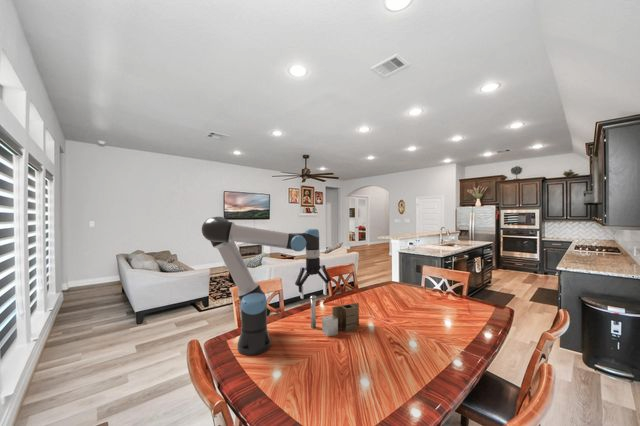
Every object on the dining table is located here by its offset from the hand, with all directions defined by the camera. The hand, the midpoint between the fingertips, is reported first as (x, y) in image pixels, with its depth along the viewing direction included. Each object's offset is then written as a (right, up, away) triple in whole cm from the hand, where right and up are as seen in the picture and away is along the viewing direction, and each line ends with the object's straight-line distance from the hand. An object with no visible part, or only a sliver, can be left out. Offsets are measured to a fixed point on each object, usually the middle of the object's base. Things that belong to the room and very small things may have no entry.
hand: (313, 296), depth 144 cm
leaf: (+14, -17, -5) cm, 22 cm away
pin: (0, -17, 0) cm, 17 cm away
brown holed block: (+21, -17, -2) cm, 27 cm away
